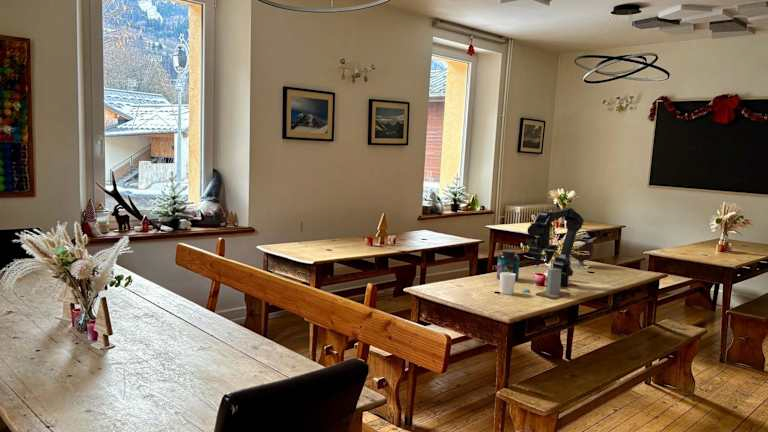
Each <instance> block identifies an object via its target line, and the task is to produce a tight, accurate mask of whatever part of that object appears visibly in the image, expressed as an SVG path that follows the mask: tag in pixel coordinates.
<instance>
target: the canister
mask: <svg viewBox="0 0 768 432" xmlns="http://www.w3.org/2000/svg"><path fill="white" fill-rule="evenodd" d="M546 276H547V278H546V290H545V291H546V293H548V294H553V295H558V294H560V291H561V286H560V284H561V269H560V268H553V267H548V268H547V275H546Z"/></svg>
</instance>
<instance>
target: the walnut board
mask: <svg viewBox="0 0 768 432" xmlns="http://www.w3.org/2000/svg"><path fill="white" fill-rule="evenodd" d="M535 296H538V297H542V298H546V299H551V300H556V299H559V298H564V297H567V296H571V292H567V291H563V290H560V294H558V295H553V294H548V293H546V290H544V291H539V292H535Z"/></svg>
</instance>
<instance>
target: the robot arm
mask: <svg viewBox="0 0 768 432" xmlns="http://www.w3.org/2000/svg"><path fill="white" fill-rule="evenodd" d="M561 218H564V220H565V227H566V233H565V236H564V240H563V242H562V243H563V244H562V247H561V250H560V254H559V255H558V256H555V254H556V253H557V251H558V250H559V247H558V245H556V244H552V243H551V242H550V241H551V240H552V239H553V238H552V237H551V228H552V227H554V225H553V222H555V220H557V219H561ZM583 224H584V218H583V217H582V216H581V214H579V213H578V212H576V210H575V209H574V208H571V207H564V208H561V209H555V210H551V211H548V210H541V211H539V212H538V214H537V215H536V218H534V221H533V222H531V223H530V225H529V226H528V228H527V229H526V231H527V234H528V236H530V237H536V238H535V239H532V238H529V239H527V241H526V245H527V246H528V252H529V253H530V254H531V255H533V259H534V261H535V266H537V267H539V266H540V263H541V261H542V257H543V252H544V253H545V264H546V265H549V264H550V262H551V260H552V258H553V257H554V256H555V258H554V261H553V266H552V268H560V269H561V284H560V287H562V288H568V287H570V286H571V284H569V280H570V279H569V278H570V277H572V276H573V275H574V270H573V269H572V266H571V264H572V263H571V259H570V256H571V250H572V247H573V243H574V240H575V239H576V236H577V234H578V232H579V231H580V230H581V229H582V227H583ZM550 243H551V244H550Z"/></svg>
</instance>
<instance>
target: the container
mask: <svg viewBox="0 0 768 432" xmlns="http://www.w3.org/2000/svg"><path fill="white" fill-rule="evenodd" d="M516 252H517V251H516V250H513V249H502V251H501V253H500V254H498V256H497V265H496V266H497V267H496V278H497V279H498V280H500V273H501V272H510V273H514V274H516V278H515V282H516V281H518V279H519V274H520V269H519V268H520V257H519V256H520V255H518V254H516Z"/></svg>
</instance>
